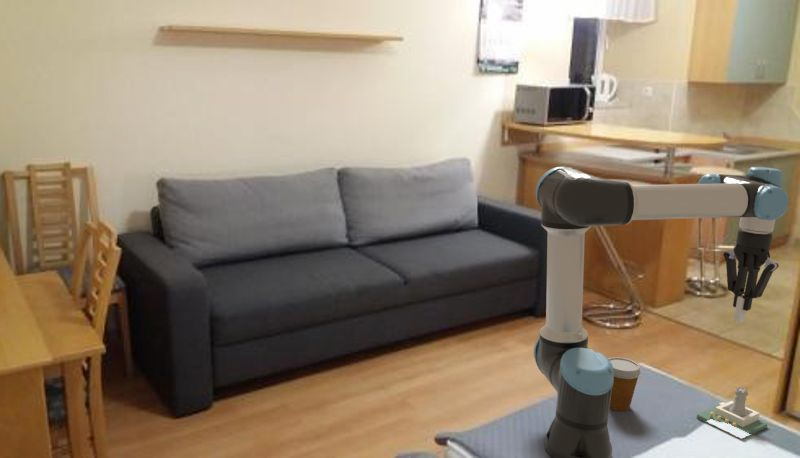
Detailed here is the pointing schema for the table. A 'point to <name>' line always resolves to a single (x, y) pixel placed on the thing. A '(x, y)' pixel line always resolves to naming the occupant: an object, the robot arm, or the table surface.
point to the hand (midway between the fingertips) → (739, 320)
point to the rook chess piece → (739, 402)
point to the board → (734, 418)
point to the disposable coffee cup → (623, 382)
